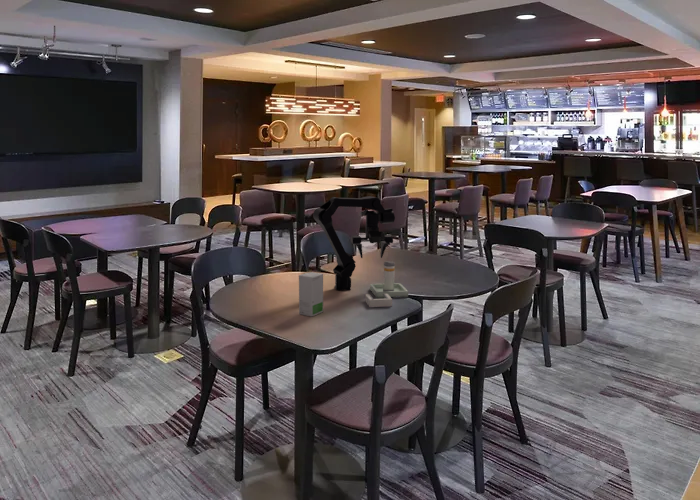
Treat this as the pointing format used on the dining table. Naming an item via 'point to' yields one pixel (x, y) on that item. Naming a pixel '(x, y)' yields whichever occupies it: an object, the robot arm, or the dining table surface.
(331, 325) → the dining table surface
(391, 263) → the white cylinder
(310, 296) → the skincare box
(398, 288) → the tray
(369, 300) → the tray
